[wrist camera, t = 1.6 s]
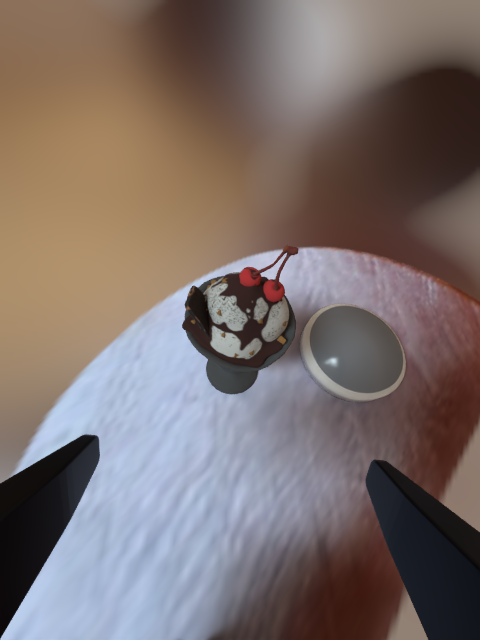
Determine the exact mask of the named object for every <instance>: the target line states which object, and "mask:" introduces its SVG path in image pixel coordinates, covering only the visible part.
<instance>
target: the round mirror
mask: <svg viewBox="0 0 480 640" xmlns="http://www.w3.org/2000/svg"><path fill="white" fill-rule="evenodd" d="M300 353H301V358H302V361H303V363H304V366H305V368H306V370H307V371H308V373H309V374H310V376H311V377H312V378H313V380H314V381H315V382H316V383H317V384H318V385H319V386H320V387H321V388H323V389H324V390H325V391H327V392H328V393H330V394H331V395H333V396H335V397H337V398H340V399H342V400H346V401H350V402H368V401H372V400H375V399H378V398H381V397H384V396H386V395H388V394H390V393H392V392H393V391H394V390H395V389H396V388H397V387H398V386H399V385H400V383H401V381H402V379H403V377H404V374H405V368H406V360H405V354H404V350H403V347H402V345H401V343H400V341H399V339H398V337H397V336H396V334H395V333H394V331H393V330H392V329H391V328H390V326H389V325H388V324H387V323H386V322H385V321H383V320H382V319H381V318H380V317H378V316H377V315H375V314H374V313H372V312H370V311H368V310H366V309H364V308H362V307H358V306H355V305H350V304H333V305H329V306H326V307H324V308H322V309H320V310H319V311H317V312H316V313H315V314H314V315H313V316H312V317H311V319H310V320H309V322H308V323H307V324H306V326H305V328H304V329H303V332H302V334H301V338H300Z"/></svg>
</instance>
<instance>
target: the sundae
mask: <svg viewBox="0 0 480 640" xmlns="http://www.w3.org/2000/svg"><path fill="white" fill-rule="evenodd" d="M287 252H288V253H287ZM285 253H287V256H286V258H285V259H284V261H283V263H282V264H281V266H280V268H279V270H278V273H277V276H276V279H275V280H273V279H270V280H268V279H267V278H266V277H261V274H260V273H262V272H264V271H266V270H268V269H270V268H271V267H273V266H274V265H275V264H276V263H277V262H278V261H279V260H280V258H281V257H282V256H283V255H284V254H285ZM295 254H298V248H297V247H290V246H285V247H284V249H283V252H282V253H281V254H280V256H279V257H278V258H277V260H276V261H275V262H274V263H273V264H271V265H269V266H268V267H266V268H264V269H261V270H259V271H258V270H257V269H255V268H253V267H246V268H244V269H243V270H242V271H241V273H240V272H236V273H229V274H227V275H225V276H221V277H217V278H213V279H211V280H209V281H207V282H204V283H203V284H202V285H201V286H200V287H199V288H197V287H196V286H192V288H191V289H190V291H189V293H188V297H187V300H186V303H185V308H186V312H185V320H184V322H183V325H182V328H183V329H184V330H186V333H187V336H188V338H189V340H190V341H191V343H192V344H193V346H194V347H195V348H196V349H197V350H198V352H200V353H201V354H202V355H204V356H205V357H206V358H207V359H208V362H207V366H206V371H207V377H208V379H209V381H210V382H211V384H212V385H213V386H214V387H215V388H216V389H217V390H219V391H221V392H223V393H227V394H238V393H242V392H244V391H245V390H247V389H248V388H250V387H251V386H252V384H253V383H254V381H255V379H256V377H257V371H258V370H261V369H263V368H266V367H268V366H269V365H271V364H272V363H274V362H275V361H276V360H277V359H279V358H280V357H281V356H282V355H283V354H284V353H285V352H286V350H287V349H288V347H289V346H290V344H291V342H292V340H293V338H294V335H295V329H296V320H295V316H294V313H293V310H292V307H291V305H290V303H289V301H288V299H287V298H286V296H285V295H284V294H285V289H284V286H283V285H282V284H281V283H280V282H279V277H280V273H281V271H282V269H283V267H284V265H285V263H286V261H287V260H288V258H289V257H290V256H291V255H295Z"/></svg>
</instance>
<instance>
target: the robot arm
mask: <svg viewBox="0 0 480 640" xmlns="http://www.w3.org/2000/svg"><path fill="white" fill-rule="evenodd" d="M99 458H100V451H99V438H98V436H96V435H87V434H86V435H82V436H80V437H79V438H77V439H75V440H74V441H72V442H70V443H69V444H67V445H65V446H63V447H62V448H60V449H58V450H57V451H55V452H53V453H51V454H50V455H48V456H46V457H45V458H43V459H41V460H40V461H38V462H36V463H34V464H33V465H31V466H29V467H28V468H26V469H24V470H23V471H21V472H19V473H17V474H16V475H14V476H12V477H11V478H9V479H7V480H6V481H4V482H2V483H0V638H1V637H2V635H3V633H4V632H5V630H6V628H7V626H8V625H9V623H10V621H11V620H12V618H13V616H14V615H15V613H16V611H17V610H18V608H19V606H20V605H21V603H22V601H23V599H24V598H25V596H26V594H27V593H28V591H29V589H30V588H31V586H32V584H33V583H34V581H35V579H36V578H37V576H38V574H39V572H40V571H41V569H42V567H43V566H44V564H45V562H46V561H47V559H48V557H49V556H50V554H51V552H52V551H53V549H54V547H55V545H56V544H57V542H58V540H59V539H60V537H61V535H62V534H63V532H64V530H65V529H66V527H67V525H68V523H69V522H70V520H71V518H72V516H73V514H74V512H75V510H76V508H77V506H78V504H79V502H80V500H81V498H82V496H83V494H84V491H85V489H86V487H87V485H88V483H89V481H90V479H91V477H92V475H93V473H94V471H95V469H96V467H97V464H98V462H99ZM366 486H367V490H368V493H369V495H370V498H371V501H372V504H373V507H374V510H375V513H376V516H377V518H378V521H379V524H380V527H381V530H382V533H383V535H384V538H385V541H386V543H387V546H388V548H389V551H390V553H391V555H392V557H393V560H394V562H395V564H396V567H397V569H398V571H399V573H400V576H401V578H402V580H403V583H404V585H405V587H406V589H407V592H408V594H409V596H410V599H411V601H412V603H413V605H414V608H415V610H416V612H417V614H418V617H419V619H420V621H421V624H422V626H423V628H424V631H425V633H426V635H427V637H428V640H480V532H478V531H477V530H476V529H475V528H473V527H472V526H471V525H469V524H468V523H467V522H465V521H464V520H463V519H461V518H460V517H459V516H457V515H456V514H455V513H454V512H452V511H451V510H449V509H448V508H447V507H446V506H444V505H443V504H442V503H440V502H439V501H438V500H437V499H435V498H434V497H433V496H431V495H430V494H429V493H427V492H426V491H425V490H423V489H422V488H421V487H420V486H418V485H417V484H416V483H414V482H413V481H412V480H410V479H409V478H408V477H406V476H405V475H404V474H402V473H401V472H400V471H399V470H397V469H396V468H395V467H393V466H392V465H391V464H389V463H388V462H386V461H383V460H373V461H372V462H371V464H370V467H369V470H368V473H367V476H366Z"/></svg>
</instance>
